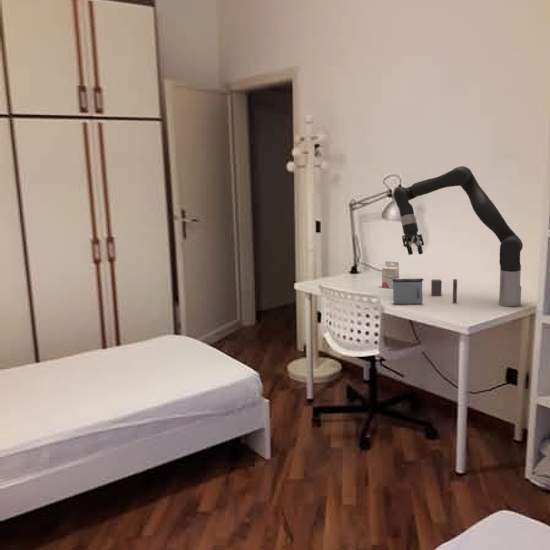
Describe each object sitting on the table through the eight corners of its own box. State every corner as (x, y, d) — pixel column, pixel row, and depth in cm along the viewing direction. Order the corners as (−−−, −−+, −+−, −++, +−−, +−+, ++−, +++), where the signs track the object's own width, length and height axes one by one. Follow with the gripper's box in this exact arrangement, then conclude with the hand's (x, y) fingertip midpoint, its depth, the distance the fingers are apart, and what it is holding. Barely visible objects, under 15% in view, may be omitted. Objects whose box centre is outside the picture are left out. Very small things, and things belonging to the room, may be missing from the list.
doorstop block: (440, 293, 309) (440, 279, 307) (441, 296, 305) (441, 281, 303) (431, 294, 310) (431, 279, 308) (432, 296, 305) (432, 281, 304)
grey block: (421, 302, 290) (422, 281, 288) (422, 304, 288) (422, 282, 286) (393, 303, 292) (393, 281, 290) (393, 304, 290) (393, 282, 288)
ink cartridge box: (381, 287, 329) (381, 262, 326) (385, 286, 333) (385, 261, 330) (395, 289, 325) (395, 263, 322) (399, 287, 329) (399, 261, 326)
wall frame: (455, 302, 290) (456, 277, 287) (457, 304, 287) (457, 278, 284) (392, 302, 295) (392, 278, 292) (392, 304, 291) (392, 279, 289)
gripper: (406, 222, 293) (413, 253, 291) (423, 222, 302) (430, 252, 300) (395, 226, 299) (401, 256, 296) (412, 226, 308) (418, 255, 306)
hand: (415, 254), depth 298 cm, fingers open, 8 cm apart
